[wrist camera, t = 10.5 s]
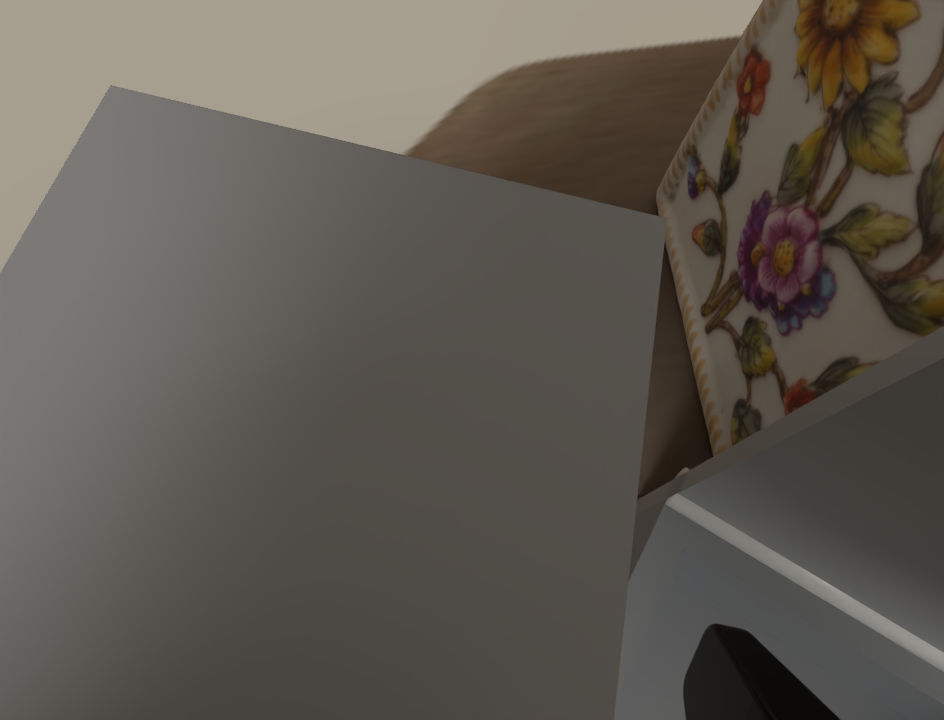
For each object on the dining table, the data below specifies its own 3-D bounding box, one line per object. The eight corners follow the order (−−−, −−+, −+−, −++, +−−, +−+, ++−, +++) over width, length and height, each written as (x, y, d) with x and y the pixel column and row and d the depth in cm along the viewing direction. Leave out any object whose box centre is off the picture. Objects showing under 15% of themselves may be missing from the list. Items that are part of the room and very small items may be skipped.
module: (448, 707, 15) (592, 919, 4) (232, 657, 15) (-266, 727, 4) (490, 492, 17) (667, 218, 6) (300, 447, 17) (110, 85, 6)
